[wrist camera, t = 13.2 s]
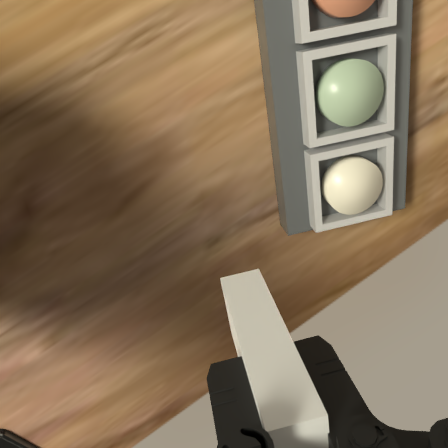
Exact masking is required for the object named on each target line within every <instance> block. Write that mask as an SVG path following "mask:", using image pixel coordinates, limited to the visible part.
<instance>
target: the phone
mask: <svg viewBox="0 0 448 448" xmlns="http://www.w3.org/2000/svg"><path fill="white" fill-rule="evenodd" d="M0 448H38V447H36V446H34V445H32V444H31V443H29V442H27V441H25V440H23V439H22V438H20V437H18V436H16V435H15V434H13V433H11V432H9V431H7V430H5V429H0Z"/></svg>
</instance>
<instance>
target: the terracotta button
mask: <svg viewBox="0 0 448 448" xmlns="http://www.w3.org/2000/svg"><path fill="white" fill-rule="evenodd" d="M312 1H313V3H314V5H315V6H316V7H317V9H318V10H319V11H321V12H322V13H323V14H325V15H327V16H330V17H334V18H341V17H352V16H356V15H358V14H360V13H362V12H364V11H365V10H366V9H368V8H369V7H370V6H371V5H372V4H373V2H374V1H375V0H312Z"/></svg>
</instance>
